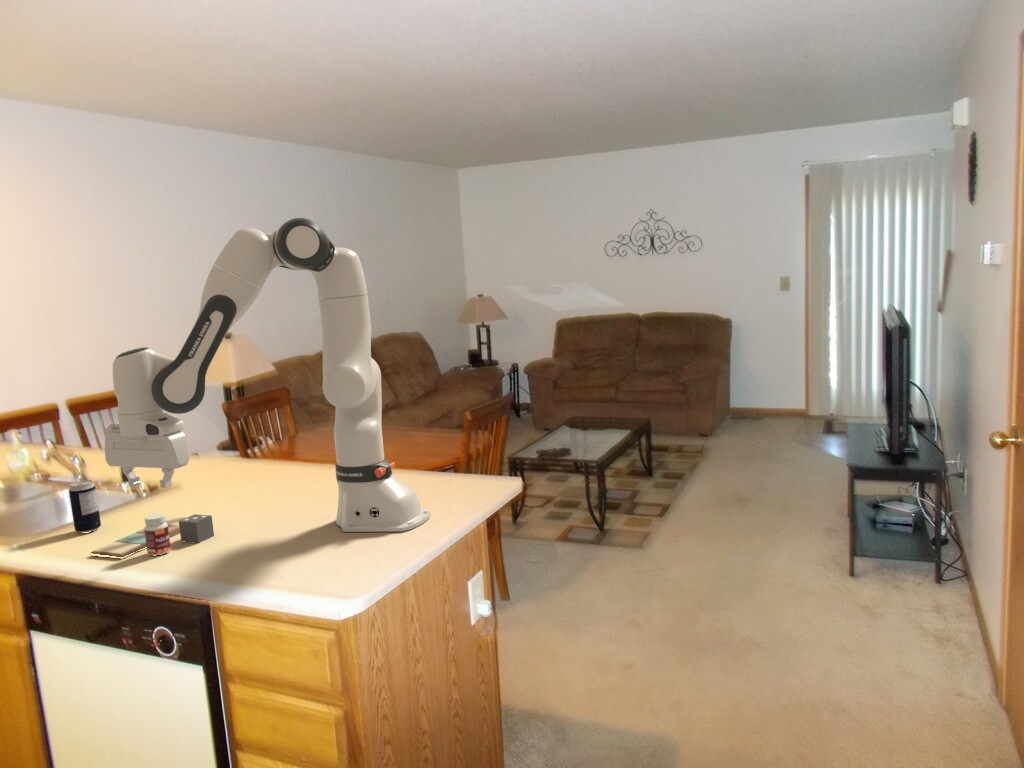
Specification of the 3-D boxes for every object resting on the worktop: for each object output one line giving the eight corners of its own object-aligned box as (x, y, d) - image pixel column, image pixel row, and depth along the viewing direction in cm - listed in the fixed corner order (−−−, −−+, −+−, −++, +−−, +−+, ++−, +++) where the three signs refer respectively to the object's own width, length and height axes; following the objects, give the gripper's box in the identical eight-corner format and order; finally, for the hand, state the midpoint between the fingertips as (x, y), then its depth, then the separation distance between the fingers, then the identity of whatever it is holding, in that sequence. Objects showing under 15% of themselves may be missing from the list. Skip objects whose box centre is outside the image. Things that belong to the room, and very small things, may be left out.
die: (214, 536, 184) (211, 515, 183) (198, 543, 179) (196, 522, 178) (197, 534, 185) (194, 513, 185) (181, 542, 181) (178, 520, 180)
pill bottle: (159, 557, 171) (154, 520, 170) (142, 556, 173) (137, 519, 172) (176, 550, 175) (171, 513, 174) (159, 548, 177) (154, 512, 176)
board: (200, 523, 194) (200, 518, 193) (122, 559, 171) (121, 553, 171) (172, 521, 197) (171, 516, 197) (91, 556, 175) (90, 550, 174)
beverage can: (102, 525, 197) (95, 478, 195) (100, 532, 192) (92, 484, 190) (77, 529, 195) (70, 482, 193) (73, 536, 190) (66, 487, 188)
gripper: (93, 426, 170) (102, 488, 172) (168, 427, 163) (176, 492, 165) (116, 420, 176) (125, 480, 178) (190, 421, 169) (197, 484, 171)
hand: (150, 486), depth 172 cm, fingers open, 7 cm apart
